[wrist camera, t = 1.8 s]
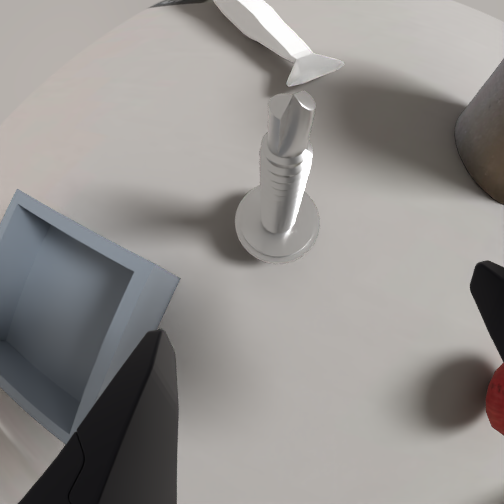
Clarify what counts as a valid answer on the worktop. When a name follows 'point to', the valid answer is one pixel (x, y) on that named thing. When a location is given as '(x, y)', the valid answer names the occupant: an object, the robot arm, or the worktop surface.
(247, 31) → the white fish figurine
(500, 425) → the pomegranate
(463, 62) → the worktop surface
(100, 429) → the robot arm
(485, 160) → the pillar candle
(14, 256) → the tote
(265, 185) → the screw
